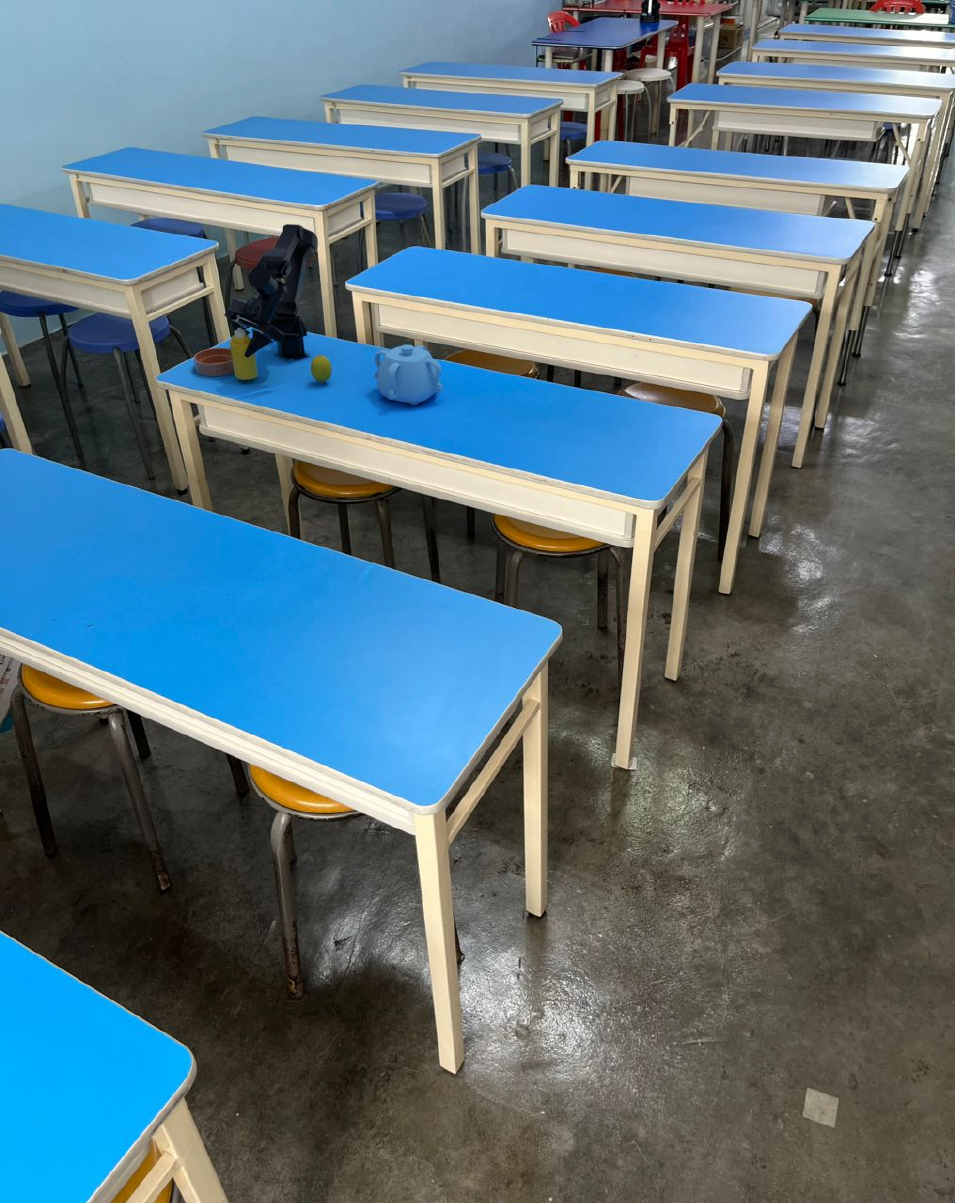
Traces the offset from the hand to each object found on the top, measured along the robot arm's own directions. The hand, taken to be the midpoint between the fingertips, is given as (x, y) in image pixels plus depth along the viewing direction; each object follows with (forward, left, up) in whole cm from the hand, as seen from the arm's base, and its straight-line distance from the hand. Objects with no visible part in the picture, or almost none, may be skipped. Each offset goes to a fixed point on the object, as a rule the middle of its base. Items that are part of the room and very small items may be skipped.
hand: (238, 353), depth 248 cm
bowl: (+2, -13, -8) cm, 15 cm away
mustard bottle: (-1, 0, -6) cm, 7 cm away
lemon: (-18, +12, -9) cm, 23 cm away
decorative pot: (-33, +32, -9) cm, 46 cm away
